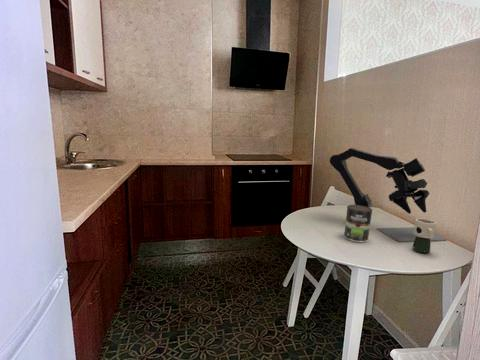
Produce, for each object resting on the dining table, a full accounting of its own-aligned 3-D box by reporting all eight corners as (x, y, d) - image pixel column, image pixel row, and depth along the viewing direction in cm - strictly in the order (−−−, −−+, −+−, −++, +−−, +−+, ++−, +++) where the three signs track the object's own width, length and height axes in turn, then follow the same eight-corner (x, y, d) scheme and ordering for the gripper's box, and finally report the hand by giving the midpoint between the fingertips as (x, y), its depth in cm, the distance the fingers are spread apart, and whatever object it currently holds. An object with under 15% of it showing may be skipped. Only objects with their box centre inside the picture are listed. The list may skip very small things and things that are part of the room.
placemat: (399, 242, 127) (399, 241, 127) (376, 229, 143) (376, 228, 143) (446, 240, 131) (446, 239, 131) (419, 228, 147) (419, 227, 147)
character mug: (406, 244, 125) (410, 215, 123) (423, 246, 124) (429, 217, 122) (417, 255, 114) (422, 224, 112) (436, 257, 113) (442, 226, 111)
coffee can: (368, 244, 124) (373, 212, 121) (343, 240, 128) (346, 209, 125) (367, 236, 133) (371, 206, 131) (344, 232, 137) (347, 203, 134)
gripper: (399, 172, 123) (417, 205, 116) (430, 172, 130) (448, 203, 123) (381, 185, 132) (396, 216, 125) (411, 184, 139) (427, 214, 132)
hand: (417, 212), depth 126 cm, fingers open, 9 cm apart
